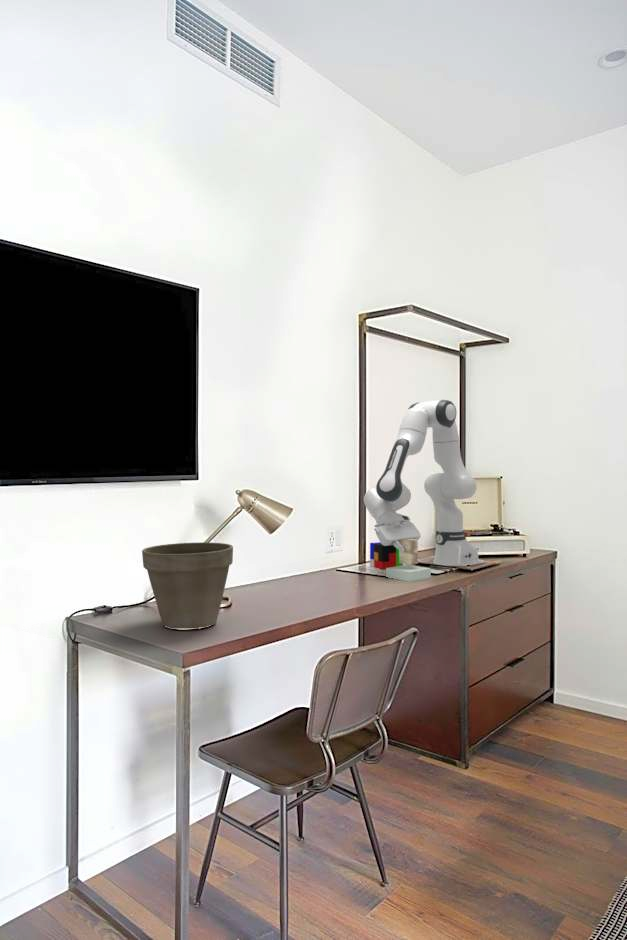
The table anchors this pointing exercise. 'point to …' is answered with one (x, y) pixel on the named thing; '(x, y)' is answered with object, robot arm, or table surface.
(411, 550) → the maple block
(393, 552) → the puzzle toy
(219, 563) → the plant pot
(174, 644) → the table surface
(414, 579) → the sage base block
